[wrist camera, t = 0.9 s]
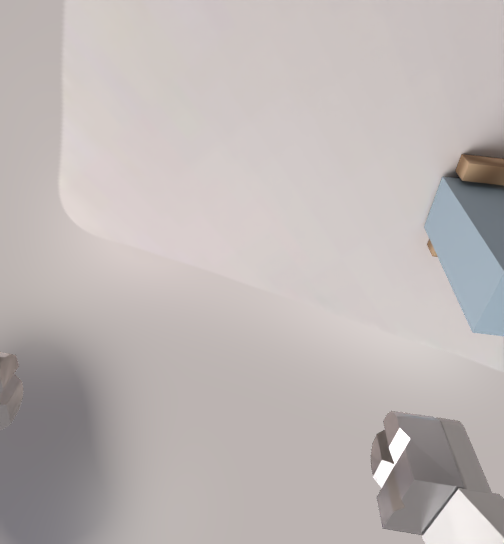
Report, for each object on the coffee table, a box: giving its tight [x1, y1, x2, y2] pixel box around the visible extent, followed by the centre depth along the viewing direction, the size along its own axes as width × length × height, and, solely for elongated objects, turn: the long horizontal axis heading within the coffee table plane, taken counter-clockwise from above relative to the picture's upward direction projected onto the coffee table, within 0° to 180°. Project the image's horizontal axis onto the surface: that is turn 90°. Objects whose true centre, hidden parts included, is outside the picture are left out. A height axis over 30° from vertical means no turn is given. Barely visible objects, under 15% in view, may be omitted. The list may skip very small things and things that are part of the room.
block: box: [424, 177, 504, 336], centre depth 33 cm, size 5×5×14 cm
